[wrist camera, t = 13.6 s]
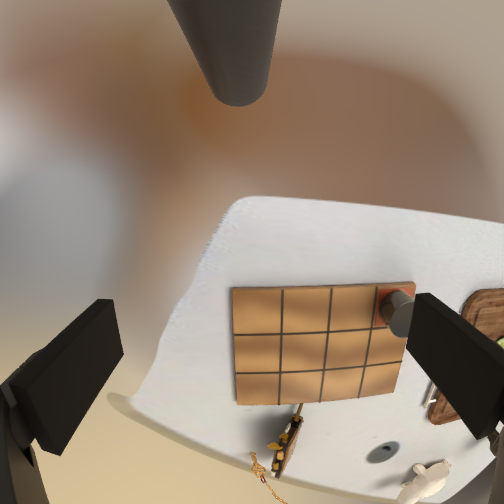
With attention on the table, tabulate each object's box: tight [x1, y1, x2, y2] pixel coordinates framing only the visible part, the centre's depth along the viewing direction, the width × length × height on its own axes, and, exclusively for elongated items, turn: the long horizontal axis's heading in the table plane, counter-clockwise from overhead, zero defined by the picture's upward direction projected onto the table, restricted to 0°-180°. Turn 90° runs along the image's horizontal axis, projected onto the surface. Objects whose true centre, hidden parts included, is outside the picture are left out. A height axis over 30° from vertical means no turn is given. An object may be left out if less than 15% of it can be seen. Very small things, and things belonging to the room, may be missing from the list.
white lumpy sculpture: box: [397, 460, 451, 504], centre depth 45 cm, size 9×8×15 cm
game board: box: [232, 282, 416, 405], centre depth 40 cm, size 18×24×1 cm
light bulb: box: [487, 429, 499, 456], centre depth 40 cm, size 6×6×15 cm
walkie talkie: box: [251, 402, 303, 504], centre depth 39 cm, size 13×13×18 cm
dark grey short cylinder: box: [379, 290, 415, 338], centre depth 36 cm, size 5×5×4 cm
